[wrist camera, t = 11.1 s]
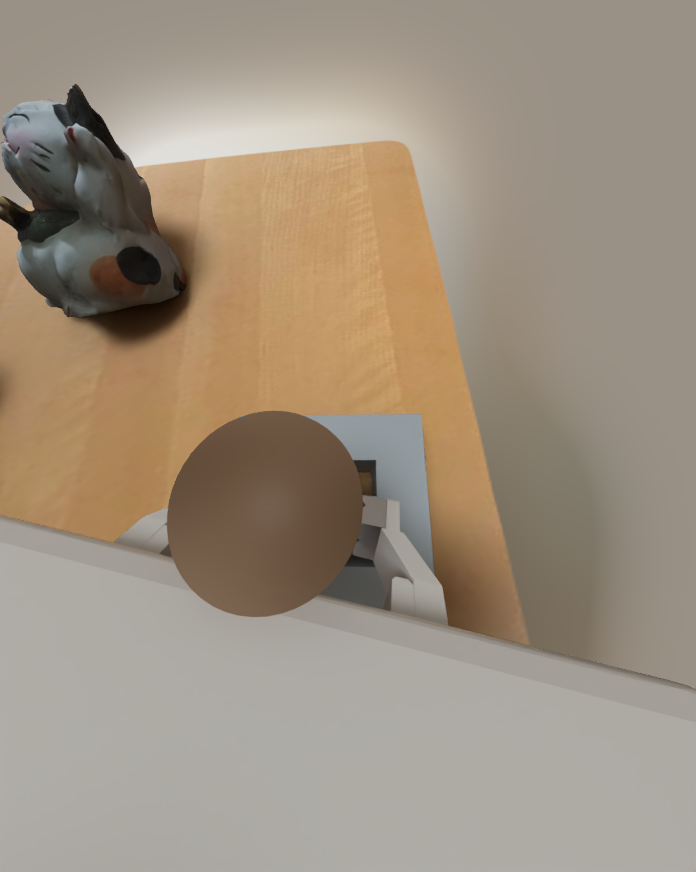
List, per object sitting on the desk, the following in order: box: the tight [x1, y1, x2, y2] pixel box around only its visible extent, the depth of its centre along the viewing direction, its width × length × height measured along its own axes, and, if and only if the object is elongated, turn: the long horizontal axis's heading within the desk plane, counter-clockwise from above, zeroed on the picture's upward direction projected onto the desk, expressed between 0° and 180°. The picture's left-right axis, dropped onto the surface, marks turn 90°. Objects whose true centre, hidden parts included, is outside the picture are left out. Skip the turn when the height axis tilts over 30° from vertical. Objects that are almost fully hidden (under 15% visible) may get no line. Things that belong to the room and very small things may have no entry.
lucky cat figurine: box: [0, 84, 186, 318], centre depth 22 cm, size 15×12×14 cm
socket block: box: [240, 414, 434, 609], centre depth 17 cm, size 12×12×5 cm
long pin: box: [167, 411, 363, 617], centre depth 12 cm, size 4×4×14 cm
